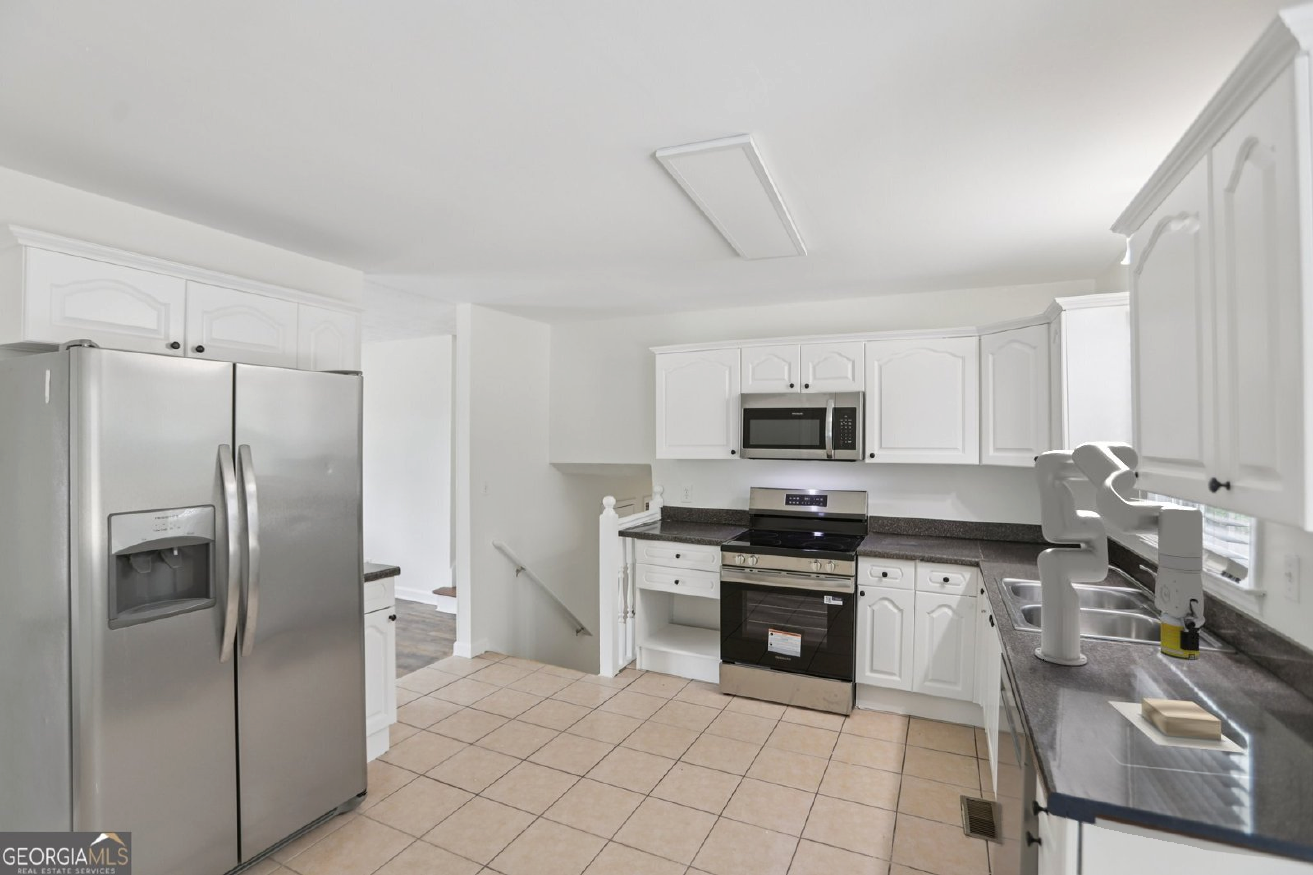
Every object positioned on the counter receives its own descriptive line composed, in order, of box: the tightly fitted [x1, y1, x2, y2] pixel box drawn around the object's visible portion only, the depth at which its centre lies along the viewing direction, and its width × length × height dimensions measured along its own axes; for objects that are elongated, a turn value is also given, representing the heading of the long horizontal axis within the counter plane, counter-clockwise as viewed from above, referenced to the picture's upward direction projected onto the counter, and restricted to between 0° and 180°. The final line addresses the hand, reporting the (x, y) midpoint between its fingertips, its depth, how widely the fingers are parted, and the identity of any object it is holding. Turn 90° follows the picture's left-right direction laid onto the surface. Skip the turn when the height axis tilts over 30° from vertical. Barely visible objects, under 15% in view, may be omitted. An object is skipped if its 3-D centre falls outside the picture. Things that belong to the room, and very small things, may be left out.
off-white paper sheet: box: [1107, 700, 1249, 754], centre depth 140 cm, size 22×16×1 cm
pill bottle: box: [1160, 614, 1200, 664], centre depth 139 cm, size 6×6×12 cm
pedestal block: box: [1141, 697, 1222, 740], centre depth 139 cm, size 10×10×4 cm
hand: (1179, 643), depth 139 cm, fingers closed on pill bottle, 6 cm apart
